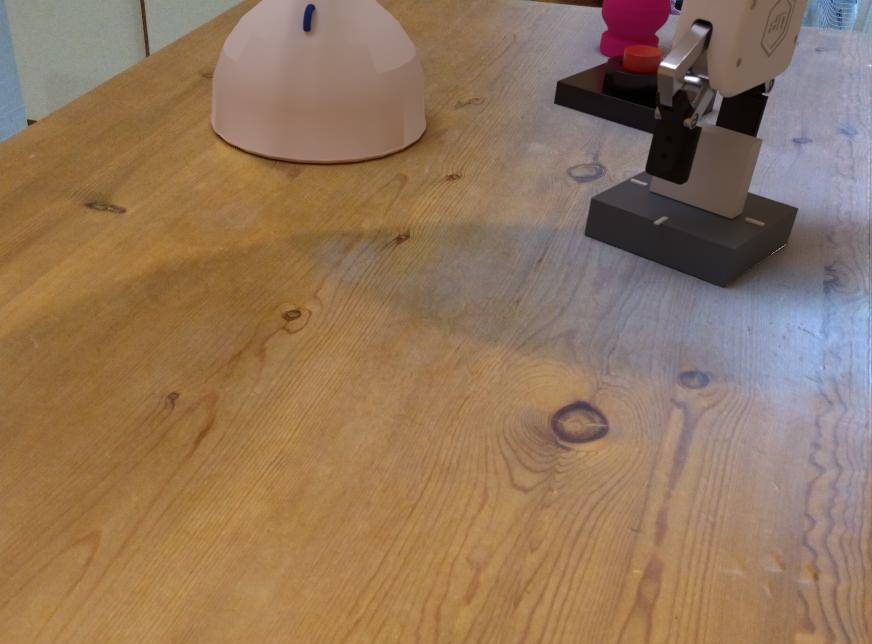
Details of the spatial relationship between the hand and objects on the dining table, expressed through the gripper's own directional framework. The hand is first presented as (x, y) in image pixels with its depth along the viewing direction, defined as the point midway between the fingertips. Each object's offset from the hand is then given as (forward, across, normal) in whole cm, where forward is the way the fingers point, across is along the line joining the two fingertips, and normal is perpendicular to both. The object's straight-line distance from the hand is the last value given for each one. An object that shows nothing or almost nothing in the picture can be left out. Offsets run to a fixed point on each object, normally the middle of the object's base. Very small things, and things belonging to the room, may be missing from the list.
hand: (699, 161), depth 78 cm
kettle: (+7, -3, +37) cm, 37 cm away
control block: (+6, +23, +19) cm, 30 cm away
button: (+3, +23, +19) cm, 30 cm away
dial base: (+6, 0, 0) cm, 6 cm away
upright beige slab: (+3, 0, 0) cm, 3 cm away
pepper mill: (+6, +38, +29) cm, 48 cm away
